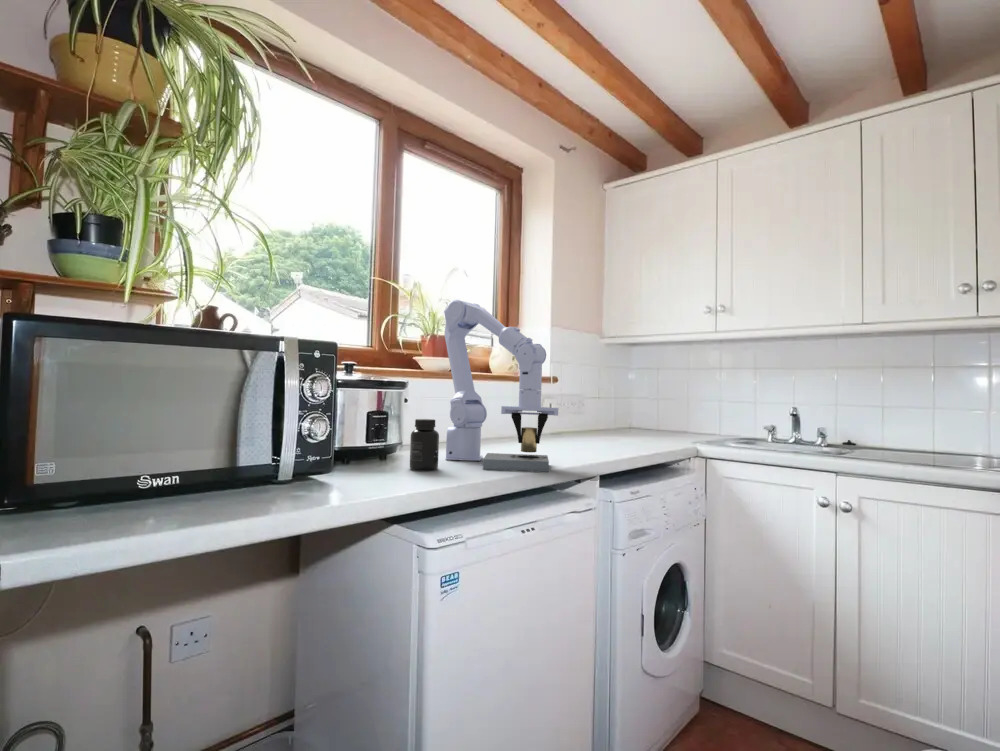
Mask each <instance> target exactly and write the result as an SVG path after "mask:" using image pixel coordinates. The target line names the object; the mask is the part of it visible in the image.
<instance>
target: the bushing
mask: <svg viewBox="0 0 1000 751" xmlns="http://www.w3.org/2000/svg"><path fill="white" fill-rule="evenodd" d="M537 432H538V427H531V426H529V427H527V426H523V427H522V426H521V443H520V452H523V453H537V449H538V448H537V447H538V444H537Z"/></svg>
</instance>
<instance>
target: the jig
mask: <svg viewBox="0 0 1000 751" xmlns="http://www.w3.org/2000/svg"><path fill="white" fill-rule="evenodd" d="M549 460H550V459H549V457H548V455H547V454H522V453H499V452H497V453H494V452H487V453H486V454H485V456H483V458H482V462H483V463H482V470H485V471H489V470H490V471H491V470H492V471H511V470H518V471H517V472H537V471H540V472H539V473H542V472H543V473H549V470H550V468H549V466H550V465H549V464H550V461H549Z"/></svg>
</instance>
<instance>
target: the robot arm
mask: <svg viewBox="0 0 1000 751" xmlns="http://www.w3.org/2000/svg"><path fill="white" fill-rule="evenodd" d="M443 313H444V319H445V328H444V339H445V344H446V350H447V357H448V360H449V366H450V373H451V377H452V383H453V387H454V388H453V389H454V393H455V394H454V396H453V397H452V398H451V399H450V401H449V402H450V411H449V418H450V421H451V422H452V424H453V426H448V427H447V431H446V442H445V444H446V446H445V448H446V449H445V460H447V461H448V460H450V461H475V462H476V461H477V462H478V461H479V462H481V460H483V458H484V456H483V455H481V443H482V441H481V440H482V427H483V423H485V421H486V420H487V416H488V414H487V408H486V406H485V405H484V404H483V401H482V397H481V396H480V395H479V393H477V391H475V385H474V381H473V374H472V370H471V364H470V360H469V358H470V357H469V355H468V354H469V353H468V349H467V348H468V347H467V345H466V344H467V342H466V337H467V335H468V334H469V333H470V332H471V331H473V330H474V329H475V328H476V327H477V326H478V325H481V326H482V327H483V328H485V329H487V331H489V332H491V333H492V334H494V335H495V337H498V343H499V345H500V346H502V347H503V348H504V349H506V350H507V351H508V352H509V353H511V355H513V356H514V357H515V359H516V362H517V363H518V370H519V380H518V382H519V384H518V386H519V387H518V389H519V391H518V406H517V405H515V406H508V405H507V406H505V405H503V406H500V408H501V409H500V410H501V411H500V414H501V415H511V416H510V417H511V419H512V422H513V424H514V427H515V431H516V435H517V439H518V443H519V444H521V429H522V415H533V416H534V415H535V416H537V445H539V444H540V441H541V436H542V433H543V429H544V427H545V425H546V422H547V421H548V419H549V416H555V417H556V416H557V417H558V416H559V407H547V406H546V407H545V406H544V407H543V406H542V386H543V384H542V383H543V382H542V380H543V378H542V377H543V364H544V363H545V362H546V358H547V351H546V349H545V348H544V346H543V345H542V344H541V343H533V341H534V340H533V339H532V338H531V337H527V336H525V335H524V334H523V333H521V329H520V328H519V327H517V326H508V327H507V326H505V325H504V324H503V323H501V321H500V320H498V319H497V318H496V317H494V315H492V314H491V313H490V312H489V311H487V309H486V308H485V307H482V306H481V305H479V304H477V303H471V302H467V301H464V300H460V299H458V298H457V299H452V300H451V301H449V303H448V304H447V306H446V308H445V310H443ZM524 411H525V412H524ZM527 411H528V412H527Z"/></svg>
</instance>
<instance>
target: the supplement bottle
mask: <svg viewBox="0 0 1000 751" xmlns="http://www.w3.org/2000/svg"><path fill="white" fill-rule="evenodd" d="M414 420H415V421H414V428H415V429H414V430H413V431H411V433H410V446H409V447H410V448H409V468H410V470H412V471H418V472H430V471H432V472H433V471H436V470H438V468H439V449H440V447H439V446H440V445H439V444H440V434H439V432H438V431H437V430H436V429H435V428H436V419H431V418H417V419H414Z"/></svg>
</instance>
